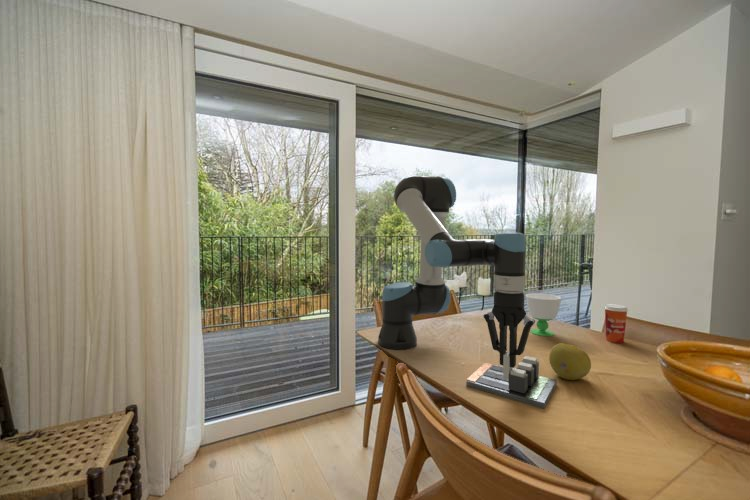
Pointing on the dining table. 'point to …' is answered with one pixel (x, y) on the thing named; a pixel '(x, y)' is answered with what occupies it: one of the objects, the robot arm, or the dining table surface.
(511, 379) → the block
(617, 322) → the paper cup
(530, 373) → the breaker mid row
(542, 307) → the cup
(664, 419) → the dining table surface
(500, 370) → the panel
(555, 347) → the fruit
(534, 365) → the breaker far row
